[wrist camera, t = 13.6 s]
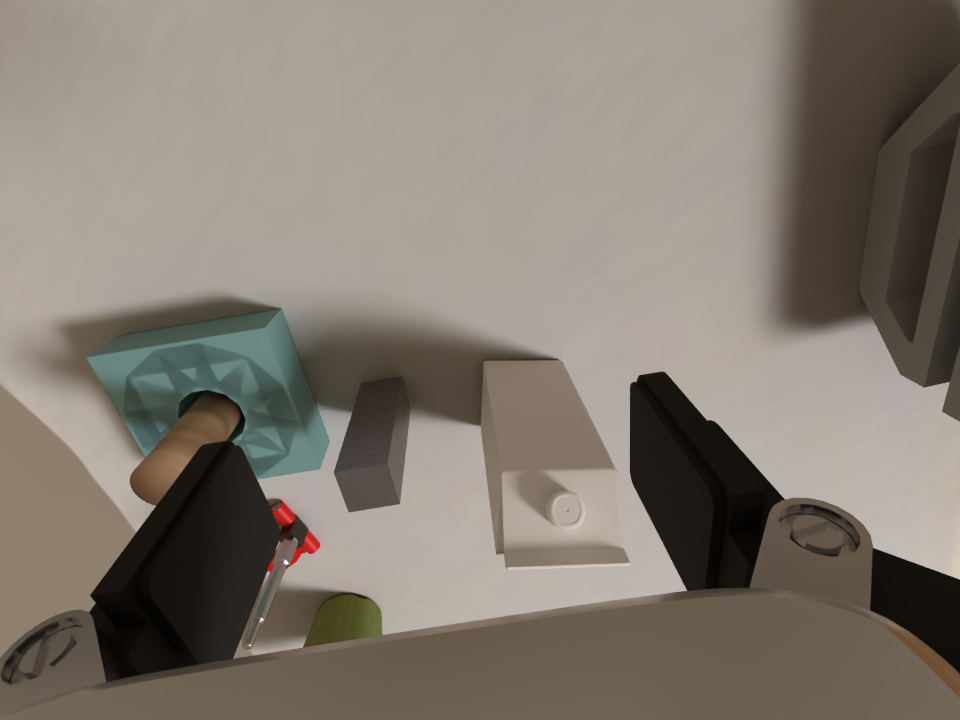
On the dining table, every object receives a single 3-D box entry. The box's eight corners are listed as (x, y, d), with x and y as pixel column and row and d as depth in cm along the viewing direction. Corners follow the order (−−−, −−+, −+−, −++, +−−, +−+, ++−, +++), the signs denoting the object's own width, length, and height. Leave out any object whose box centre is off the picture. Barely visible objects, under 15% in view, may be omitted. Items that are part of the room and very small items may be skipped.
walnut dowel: (204, 377, 41) (119, 468, 30) (245, 370, 41) (175, 459, 30) (220, 412, 42) (145, 510, 32) (260, 405, 42) (198, 502, 32)
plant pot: (276, 615, 55) (239, 725, 45) (347, 563, 52) (324, 669, 42) (353, 657, 59) (335, 767, 49) (422, 612, 56) (418, 719, 46)
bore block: (119, 335, 39) (85, 357, 35) (281, 308, 38) (264, 327, 35) (189, 464, 45) (167, 494, 41) (329, 441, 45) (319, 469, 41)
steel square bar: (361, 383, 42) (333, 472, 31) (401, 376, 42) (387, 463, 31) (371, 416, 44) (348, 512, 33) (410, 410, 44) (399, 503, 33)
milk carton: (554, 425, 46) (620, 605, 29) (480, 426, 45) (502, 610, 28) (562, 359, 42) (641, 517, 25) (482, 359, 42) (509, 521, 25)
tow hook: (256, 571, 52) (327, 545, 51) (196, 700, 41) (286, 672, 39) (204, 521, 49) (280, 491, 47) (123, 647, 37) (220, 613, 36)
